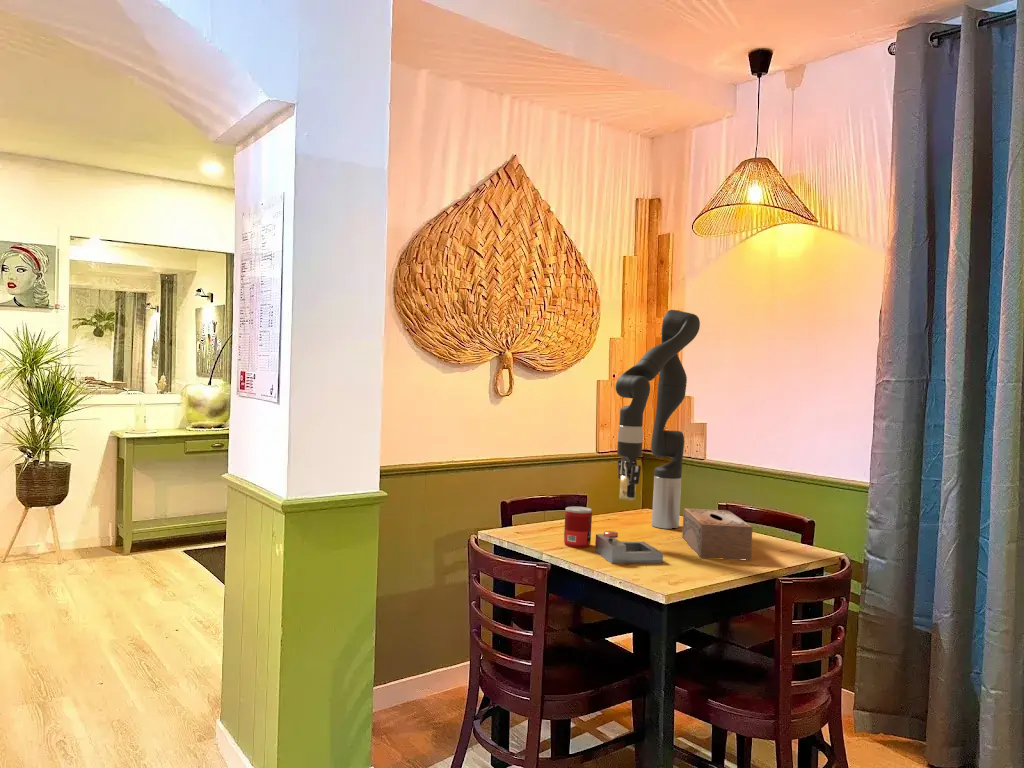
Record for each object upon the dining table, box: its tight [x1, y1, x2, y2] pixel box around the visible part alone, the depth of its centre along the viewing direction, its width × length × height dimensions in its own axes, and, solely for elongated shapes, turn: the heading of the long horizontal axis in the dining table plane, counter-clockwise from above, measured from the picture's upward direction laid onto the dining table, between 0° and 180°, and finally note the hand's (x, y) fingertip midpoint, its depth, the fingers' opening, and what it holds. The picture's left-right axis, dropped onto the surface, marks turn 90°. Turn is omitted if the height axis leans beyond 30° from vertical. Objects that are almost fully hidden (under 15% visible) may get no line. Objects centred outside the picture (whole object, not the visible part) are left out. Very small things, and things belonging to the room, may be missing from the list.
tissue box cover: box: [681, 507, 753, 561], centre depth 233 cm, size 26×14×10 cm, turn 179°
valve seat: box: [594, 530, 664, 565], centre depth 218 cm, size 14×15×7 cm
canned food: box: [563, 506, 593, 549], centre depth 230 cm, size 8×8×11 cm
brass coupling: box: [618, 475, 637, 501], centre depth 235 cm, size 5×5×7 cm
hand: (627, 495), depth 235 cm, fingers closed on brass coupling, 4 cm apart
